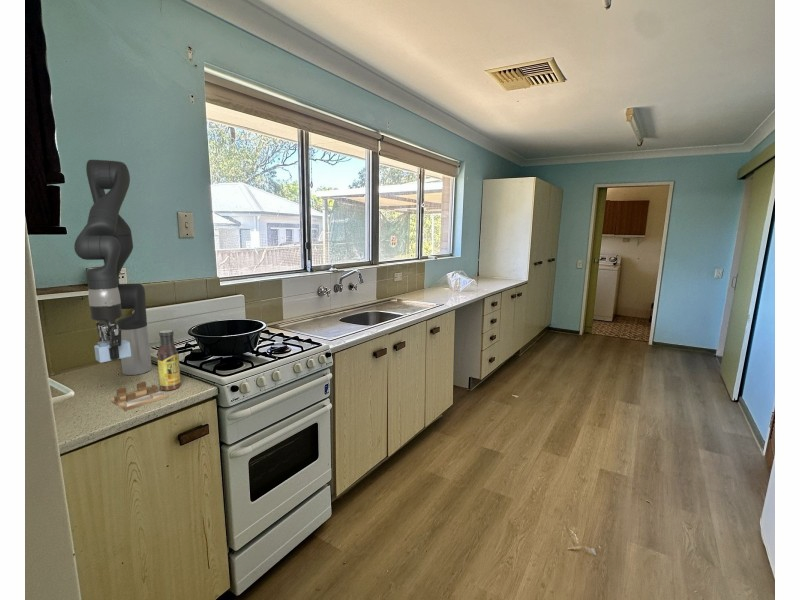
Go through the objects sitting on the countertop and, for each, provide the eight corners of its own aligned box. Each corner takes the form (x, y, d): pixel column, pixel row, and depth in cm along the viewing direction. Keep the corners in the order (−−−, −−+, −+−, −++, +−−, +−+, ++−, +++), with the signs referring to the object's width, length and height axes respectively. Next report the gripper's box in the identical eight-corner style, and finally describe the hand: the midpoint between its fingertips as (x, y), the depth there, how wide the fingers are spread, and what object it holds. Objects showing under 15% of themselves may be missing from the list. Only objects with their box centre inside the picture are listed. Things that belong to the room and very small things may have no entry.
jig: (110, 401, 121) (109, 390, 121) (150, 389, 131) (149, 379, 130) (125, 411, 115) (123, 400, 115) (166, 397, 125) (165, 387, 124)
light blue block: (95, 359, 118) (93, 342, 117) (126, 353, 124) (124, 336, 123) (100, 362, 116) (98, 345, 114) (131, 356, 122) (129, 339, 121)
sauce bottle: (171, 392, 128) (165, 334, 125) (155, 390, 130) (149, 333, 126) (185, 384, 135) (180, 329, 131) (170, 383, 136) (164, 328, 132)
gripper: (82, 301, 117) (89, 355, 121) (98, 308, 109) (105, 365, 112) (111, 298, 123) (117, 349, 127) (128, 304, 115) (135, 359, 118)
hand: (112, 357), depth 119 cm, fingers closed on light blue block, 4 cm apart
